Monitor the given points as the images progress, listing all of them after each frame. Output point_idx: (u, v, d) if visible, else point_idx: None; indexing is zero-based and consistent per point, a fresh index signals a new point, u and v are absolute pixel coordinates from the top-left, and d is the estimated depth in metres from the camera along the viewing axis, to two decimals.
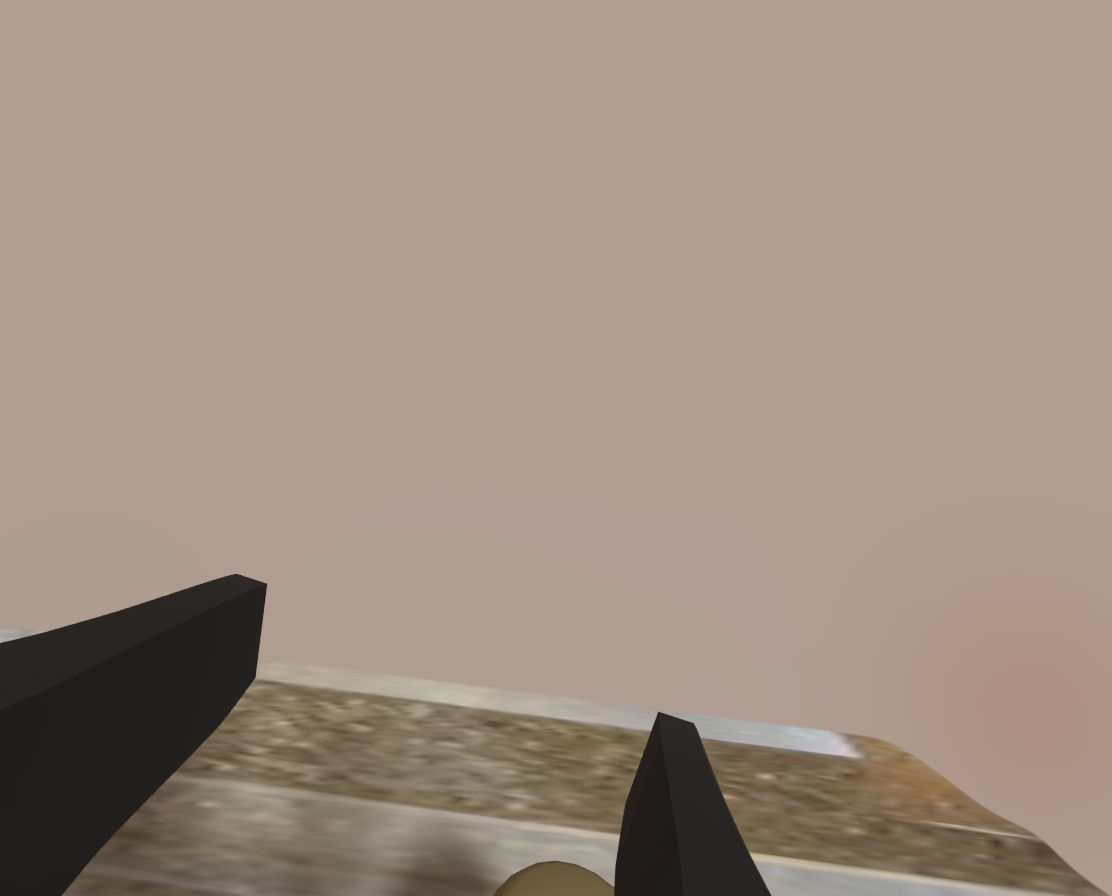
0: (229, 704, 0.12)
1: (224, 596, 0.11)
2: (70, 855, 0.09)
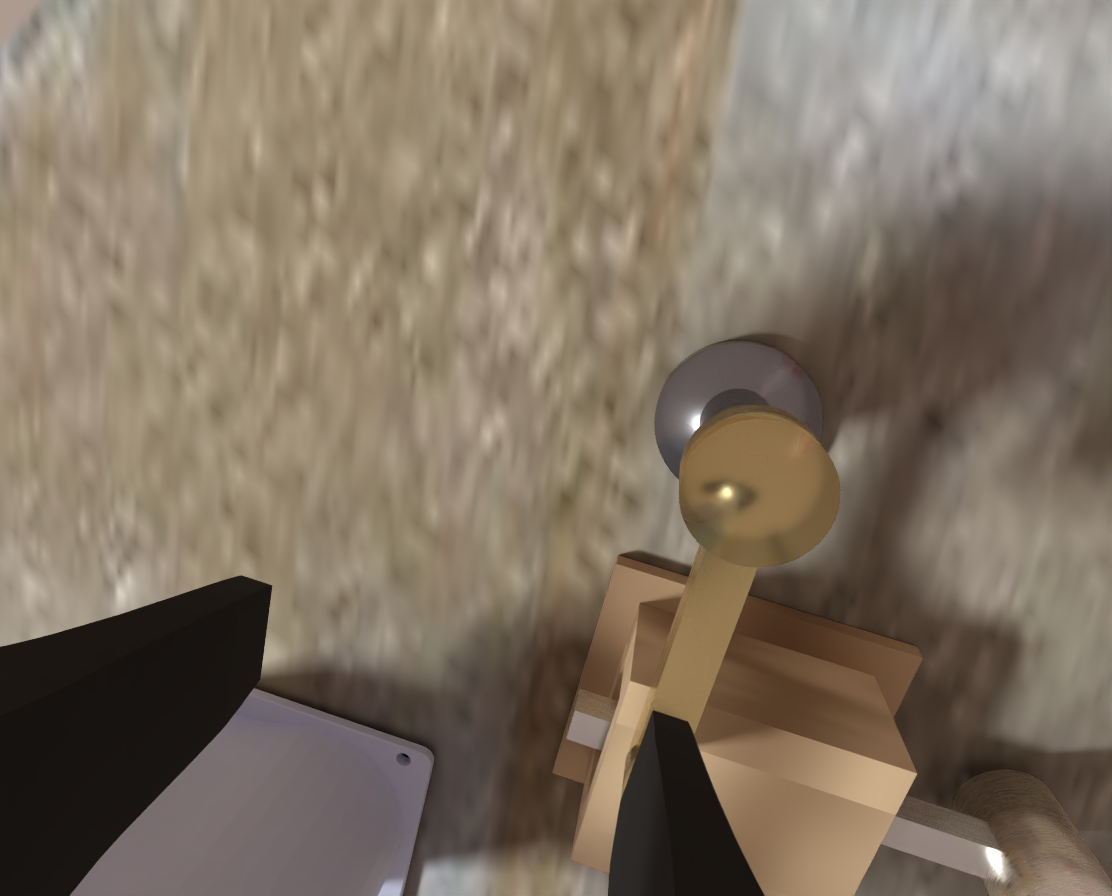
0: (234, 706, 0.12)
1: (229, 598, 0.11)
2: (76, 858, 0.09)
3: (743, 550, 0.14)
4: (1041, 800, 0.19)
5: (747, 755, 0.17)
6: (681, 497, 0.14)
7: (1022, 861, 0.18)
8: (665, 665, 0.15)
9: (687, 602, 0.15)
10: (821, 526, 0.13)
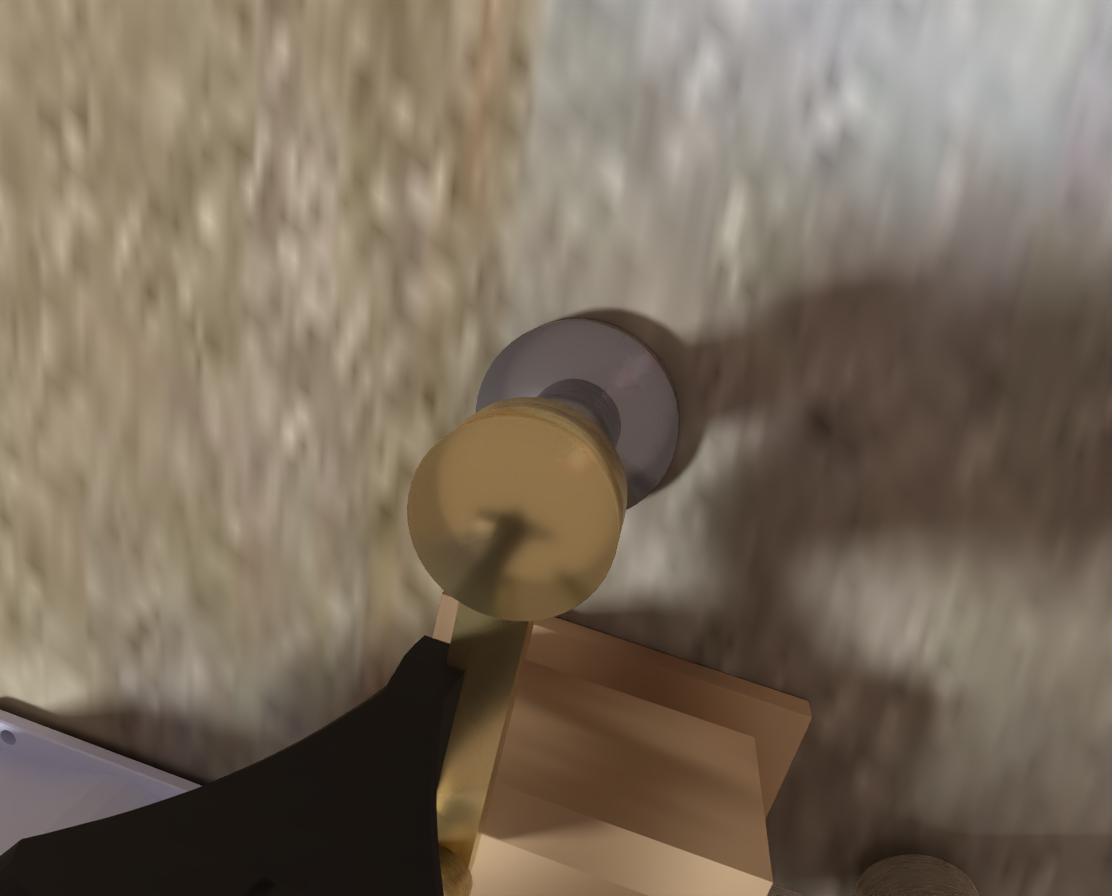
0: None
1: (454, 672, 0.11)
2: None
3: (500, 598, 0.10)
4: None
5: (561, 850, 0.13)
6: (410, 526, 0.10)
7: None
8: None
9: None
10: (598, 565, 0.09)
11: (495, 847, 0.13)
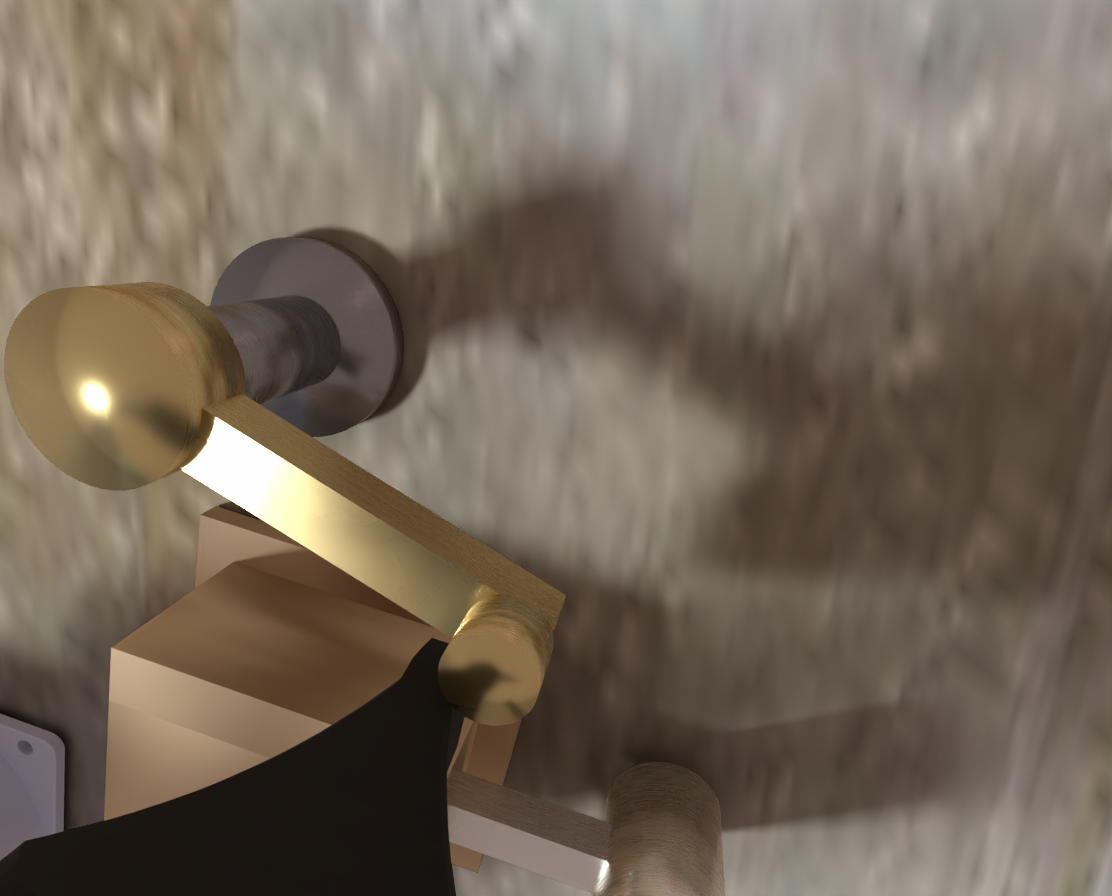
0: None
1: None
2: None
3: (164, 429, 0.10)
4: (678, 798, 0.16)
5: (256, 740, 0.14)
6: (93, 484, 0.10)
7: (615, 873, 0.14)
8: (348, 570, 0.11)
9: (258, 514, 0.11)
10: (134, 323, 0.10)
11: (198, 740, 0.14)
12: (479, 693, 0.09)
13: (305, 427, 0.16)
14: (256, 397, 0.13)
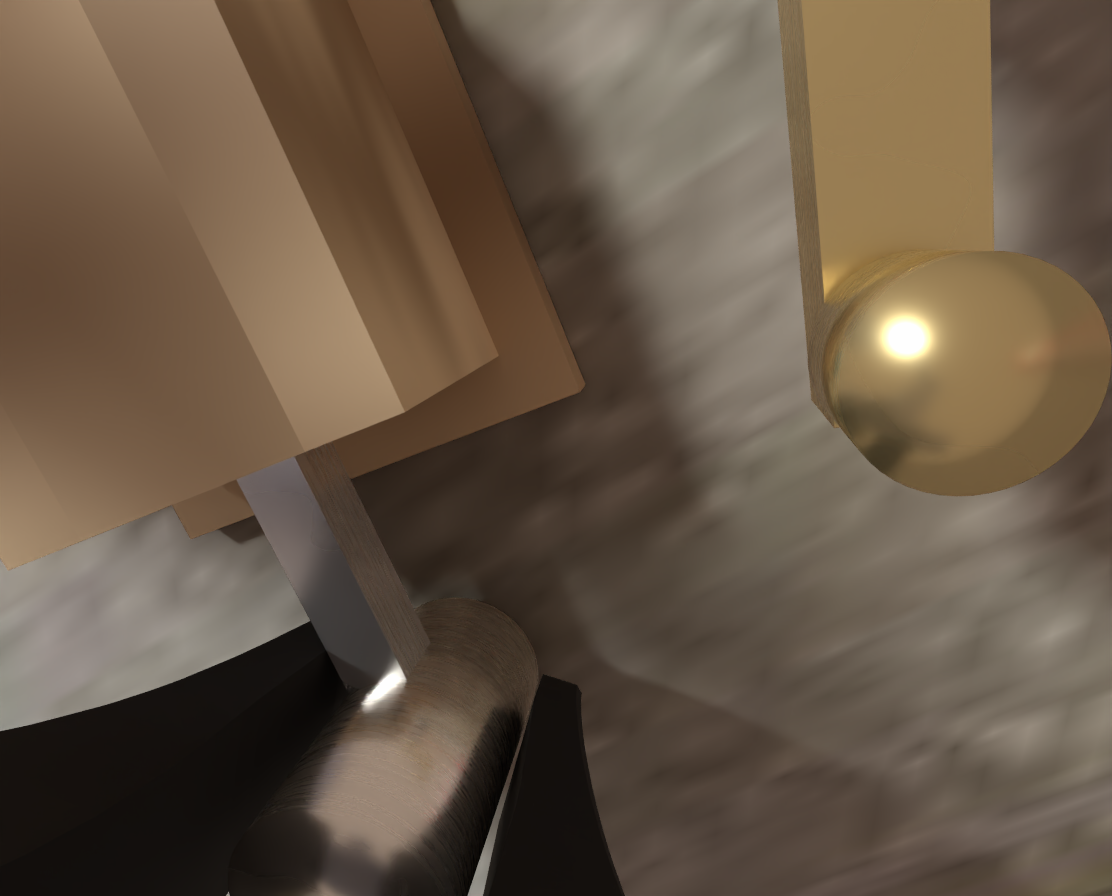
0: None
1: None
2: None
3: None
4: (517, 680, 0.11)
5: (158, 100, 0.07)
6: None
7: (415, 705, 0.10)
8: None
9: None
10: None
11: None
12: (922, 385, 0.04)
13: None
14: None
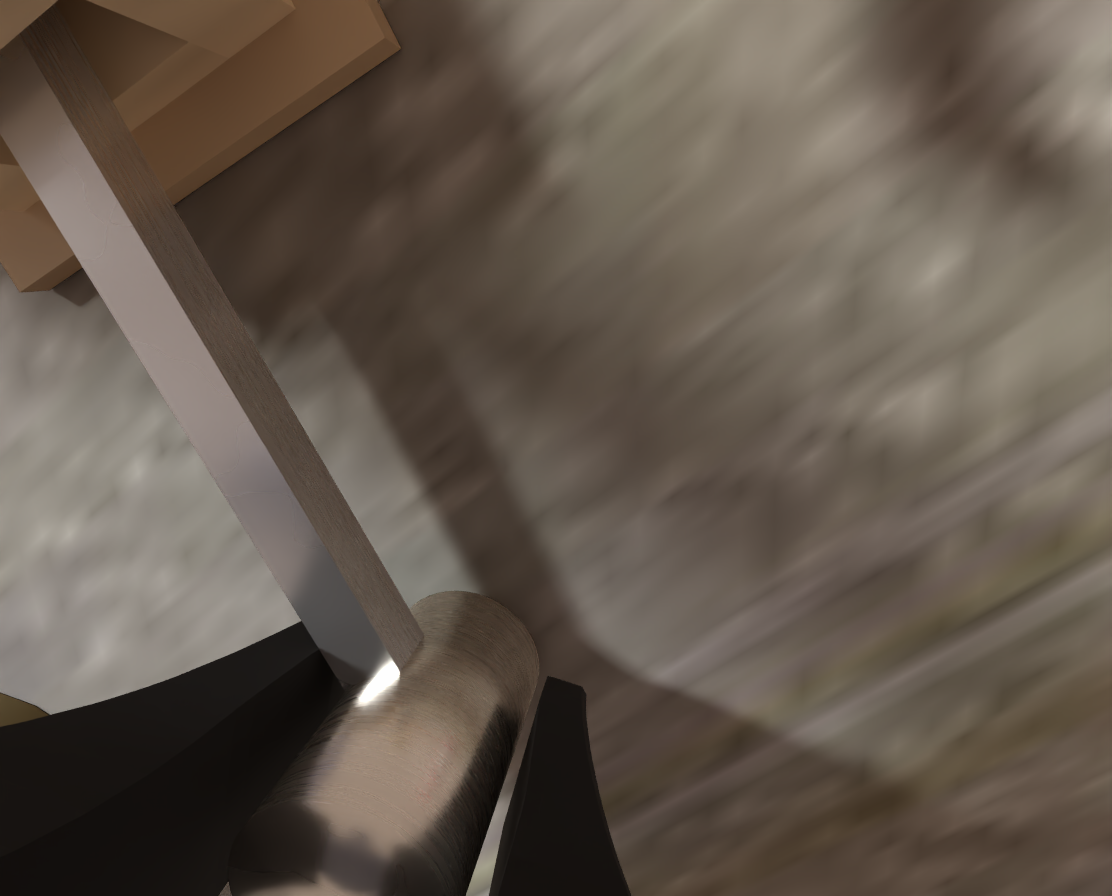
0: None
1: None
2: None
3: None
4: (515, 668, 0.11)
5: None
6: None
7: (408, 696, 0.10)
8: None
9: None
10: None
11: None
12: None
13: None
14: None
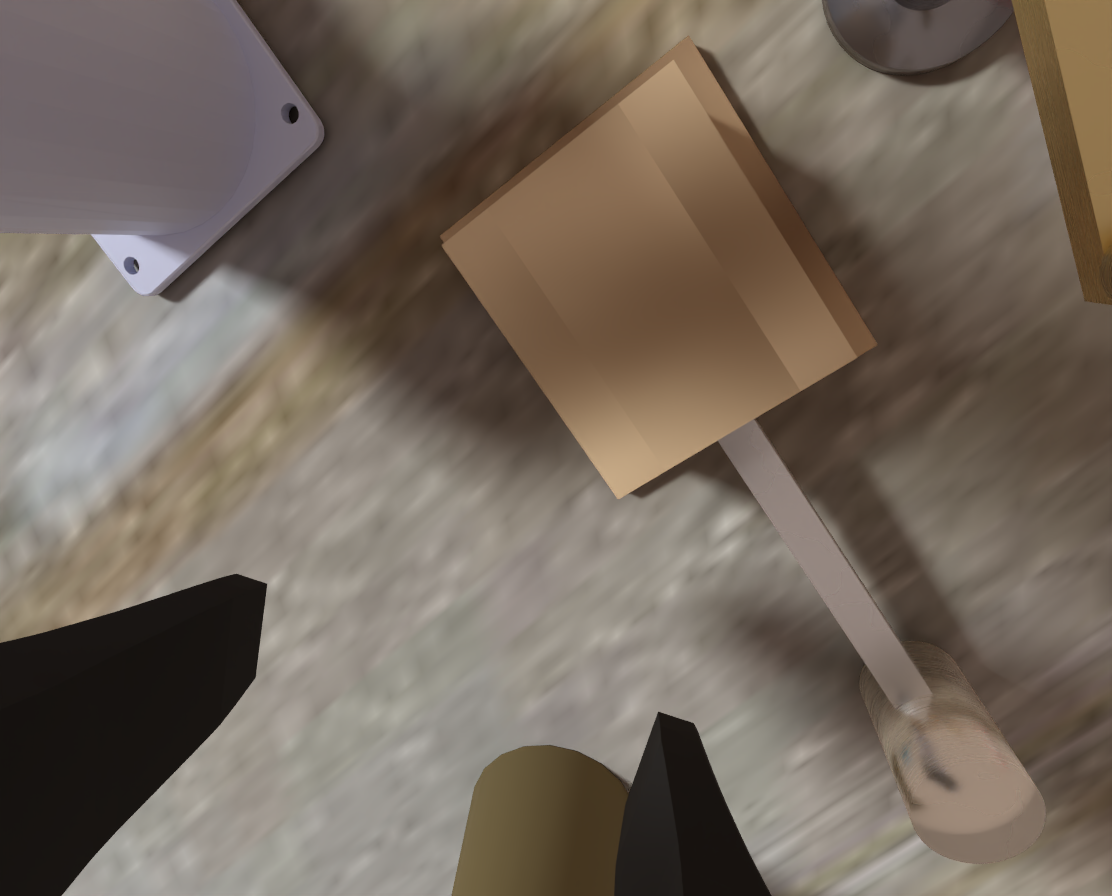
0: (229, 704, 0.12)
1: (224, 596, 0.11)
2: (70, 855, 0.09)
3: None
4: (969, 684, 0.19)
5: (718, 233, 0.14)
6: None
7: (953, 706, 0.17)
8: (1074, 130, 0.12)
9: (1050, 31, 0.11)
10: None
11: (665, 197, 0.14)
12: None
13: (859, 36, 0.16)
14: None
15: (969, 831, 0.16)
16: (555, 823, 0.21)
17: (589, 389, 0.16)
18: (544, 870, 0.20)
